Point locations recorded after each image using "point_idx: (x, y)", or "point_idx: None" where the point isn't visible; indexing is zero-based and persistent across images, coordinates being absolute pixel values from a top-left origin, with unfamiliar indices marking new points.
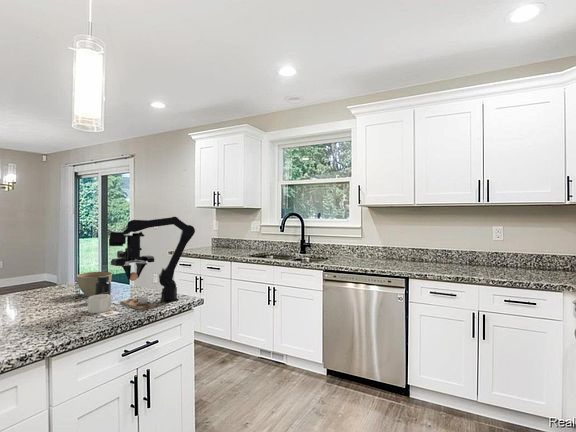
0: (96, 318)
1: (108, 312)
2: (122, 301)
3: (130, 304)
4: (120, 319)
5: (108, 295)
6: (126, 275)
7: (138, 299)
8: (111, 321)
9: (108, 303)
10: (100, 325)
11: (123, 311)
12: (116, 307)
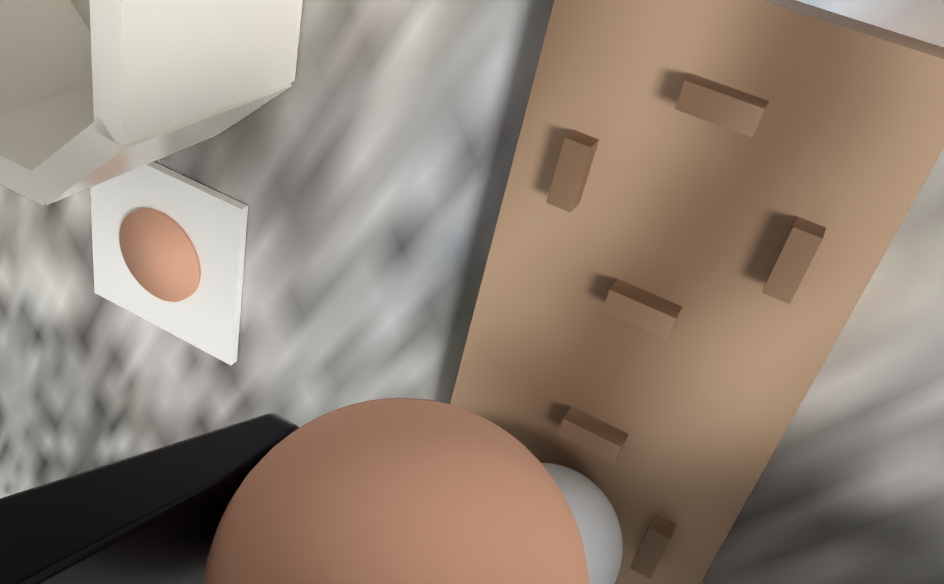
0: (38, 232)
1: (157, 237)
2: (579, 4)
3: (486, 307)
4: None
5: (93, 91)
6: (133, 459)
7: (764, 288)
8: (89, 429)
9: (139, 165)
10: (5, 405)
11: (308, 343)
12: (377, 101)
